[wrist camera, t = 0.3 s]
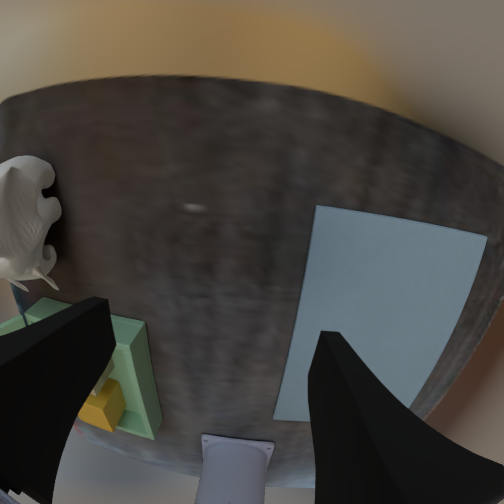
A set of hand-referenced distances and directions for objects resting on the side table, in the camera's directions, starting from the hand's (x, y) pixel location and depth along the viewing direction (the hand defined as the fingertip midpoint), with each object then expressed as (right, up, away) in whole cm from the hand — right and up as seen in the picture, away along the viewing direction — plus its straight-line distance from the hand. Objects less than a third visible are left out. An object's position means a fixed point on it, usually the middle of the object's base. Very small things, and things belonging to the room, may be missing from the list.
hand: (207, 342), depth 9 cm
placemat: (+11, -4, +11) cm, 17 cm away
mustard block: (-14, -11, +15) cm, 23 cm away
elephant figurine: (-16, +6, +10) cm, 19 cm away
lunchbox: (-13, -8, +15) cm, 21 cm away
